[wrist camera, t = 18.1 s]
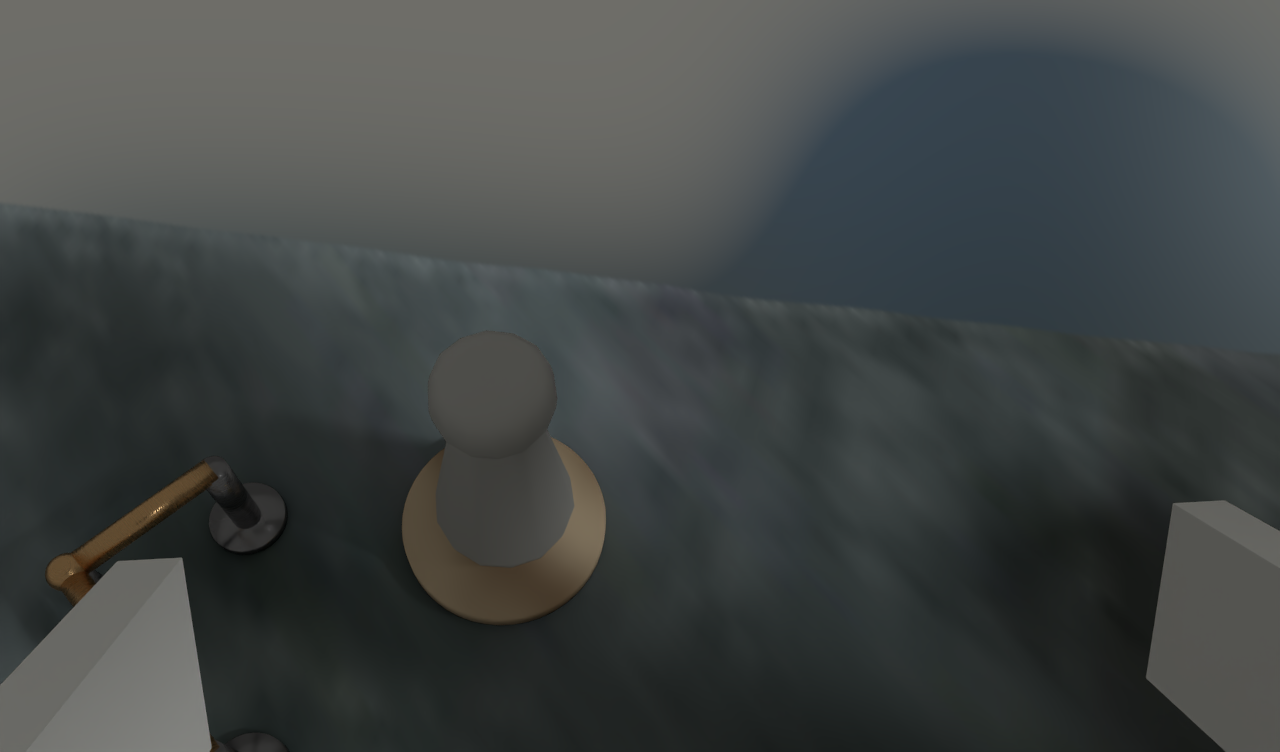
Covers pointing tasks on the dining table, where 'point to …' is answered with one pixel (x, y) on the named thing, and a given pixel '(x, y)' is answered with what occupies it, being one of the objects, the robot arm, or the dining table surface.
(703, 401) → the dining table surface
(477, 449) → the salt shaker
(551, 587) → the coaster
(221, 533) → the rail
